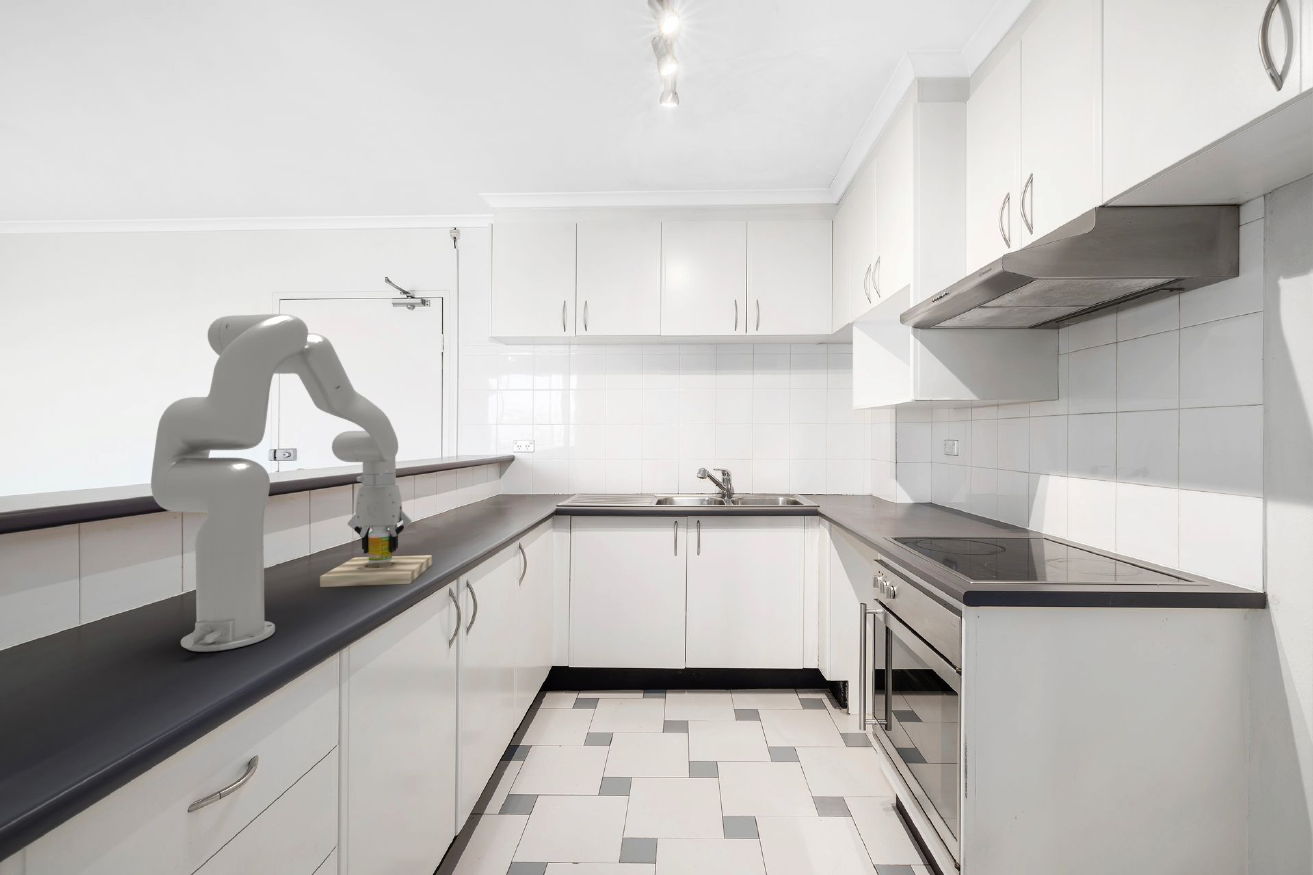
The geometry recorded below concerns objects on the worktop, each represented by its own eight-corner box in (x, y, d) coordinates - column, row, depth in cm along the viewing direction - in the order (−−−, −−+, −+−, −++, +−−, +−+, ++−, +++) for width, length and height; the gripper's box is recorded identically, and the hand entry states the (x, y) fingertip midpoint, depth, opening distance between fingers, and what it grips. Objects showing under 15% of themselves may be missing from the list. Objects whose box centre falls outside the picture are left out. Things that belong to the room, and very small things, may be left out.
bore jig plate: (409, 583, 136) (409, 573, 136) (320, 586, 133) (320, 576, 133) (431, 564, 156) (431, 555, 156) (354, 566, 153) (354, 557, 153)
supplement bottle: (382, 563, 142) (382, 524, 141) (363, 562, 143) (363, 524, 142) (396, 559, 147) (396, 521, 147) (378, 558, 148) (377, 520, 148)
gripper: (337, 482, 140) (337, 556, 140) (410, 481, 142) (411, 554, 142) (349, 479, 147) (350, 549, 147) (419, 478, 149) (419, 547, 149)
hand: (380, 551), depth 145 cm, fingers closed on supplement bottle, 5 cm apart
